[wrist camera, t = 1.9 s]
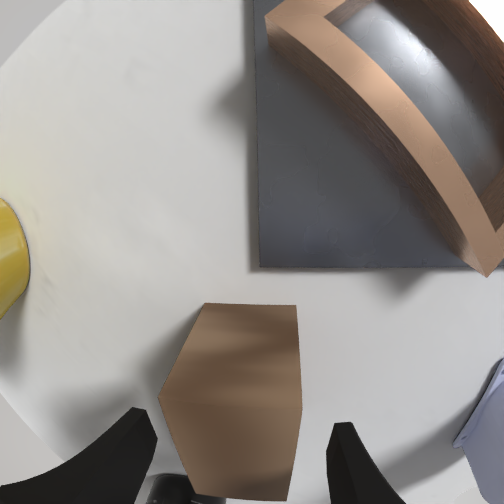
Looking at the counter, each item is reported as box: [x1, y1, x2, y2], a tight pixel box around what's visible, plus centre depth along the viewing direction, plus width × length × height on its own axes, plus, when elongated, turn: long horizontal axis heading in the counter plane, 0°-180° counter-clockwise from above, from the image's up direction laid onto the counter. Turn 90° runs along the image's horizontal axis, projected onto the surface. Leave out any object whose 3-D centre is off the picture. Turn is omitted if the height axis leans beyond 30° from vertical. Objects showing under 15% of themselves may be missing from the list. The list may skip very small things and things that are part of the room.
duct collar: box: [253, 0, 504, 278], centre depth 7 cm, size 15×15×3 cm
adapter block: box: [158, 303, 302, 501], centre depth 11 cm, size 4×7×6 cm, turn 1°
